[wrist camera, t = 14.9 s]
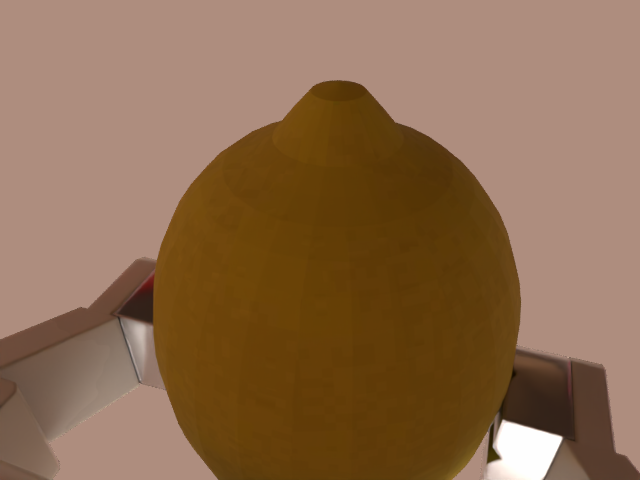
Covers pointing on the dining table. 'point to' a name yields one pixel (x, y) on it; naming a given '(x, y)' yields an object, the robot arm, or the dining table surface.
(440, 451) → the lemon
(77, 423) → the robot arm
